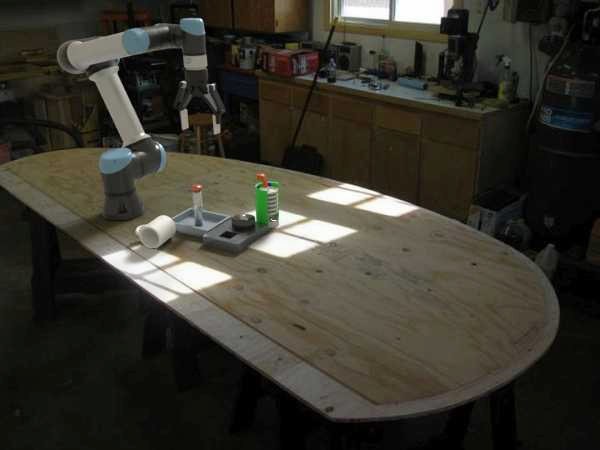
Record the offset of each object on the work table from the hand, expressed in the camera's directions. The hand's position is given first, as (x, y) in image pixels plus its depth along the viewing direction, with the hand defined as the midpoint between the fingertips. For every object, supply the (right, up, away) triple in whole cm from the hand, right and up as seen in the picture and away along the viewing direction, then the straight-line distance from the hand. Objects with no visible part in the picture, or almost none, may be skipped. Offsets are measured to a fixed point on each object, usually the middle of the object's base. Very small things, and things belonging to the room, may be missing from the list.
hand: (201, 131), depth 207 cm
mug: (-15, -38, -6) cm, 41 cm away
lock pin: (-1, -32, +4) cm, 32 cm away
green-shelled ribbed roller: (+23, -32, +6) cm, 40 cm away
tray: (-1, -33, +4) cm, 33 cm away
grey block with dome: (+13, -37, -5) cm, 39 cm away
